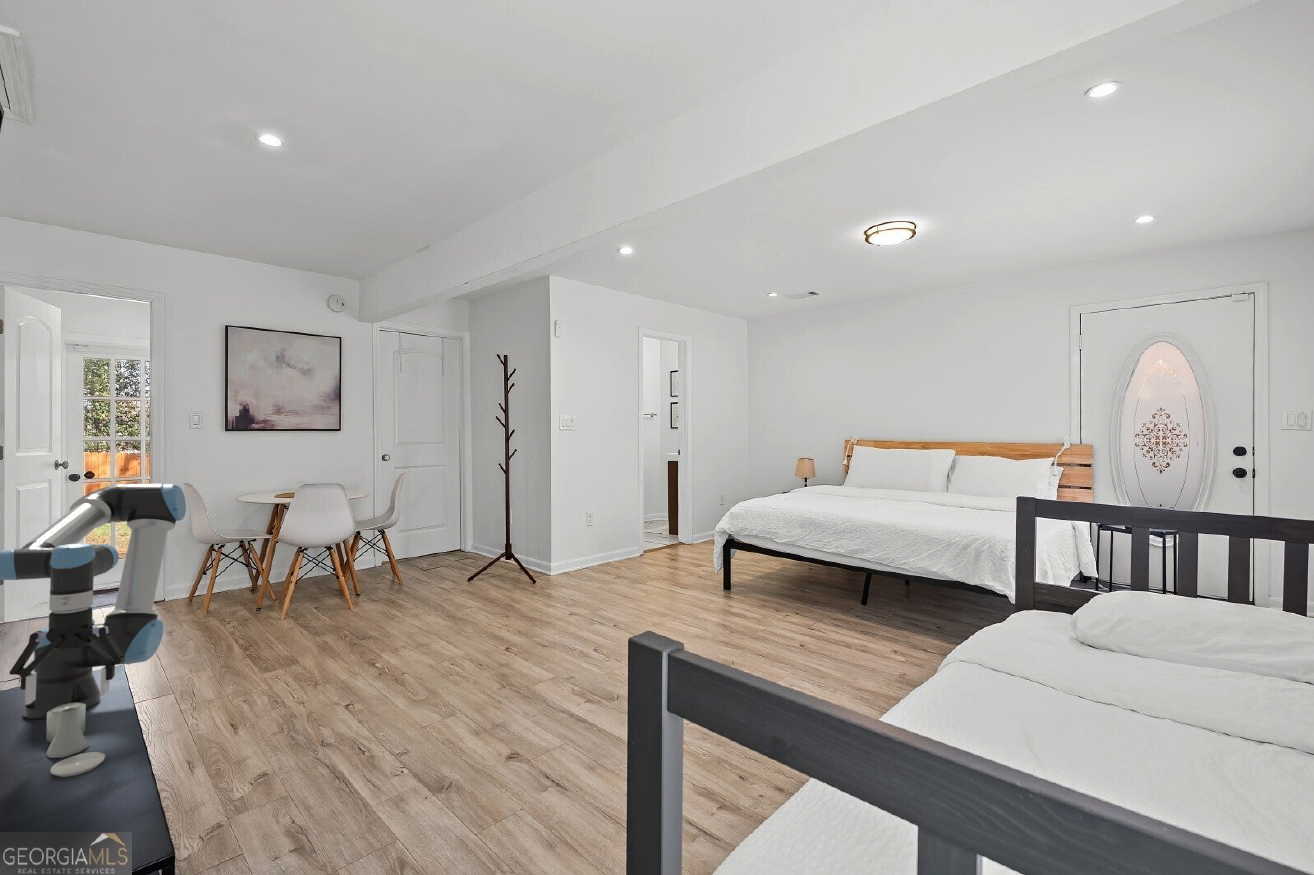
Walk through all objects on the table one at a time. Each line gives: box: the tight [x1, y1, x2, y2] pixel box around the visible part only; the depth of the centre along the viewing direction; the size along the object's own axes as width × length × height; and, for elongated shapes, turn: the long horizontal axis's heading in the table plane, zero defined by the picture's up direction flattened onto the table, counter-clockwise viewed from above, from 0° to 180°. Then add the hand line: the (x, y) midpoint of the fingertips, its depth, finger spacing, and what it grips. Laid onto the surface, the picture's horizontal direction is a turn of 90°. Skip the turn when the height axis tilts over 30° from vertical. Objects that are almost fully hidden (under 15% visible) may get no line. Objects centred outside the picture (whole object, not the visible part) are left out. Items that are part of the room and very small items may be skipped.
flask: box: [45, 707, 90, 759], centre depth 144 cm, size 7×7×10 cm
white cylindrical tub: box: [46, 703, 87, 743], centre depth 152 cm, size 7×7×7 cm
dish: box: [49, 751, 106, 778], centre depth 137 cm, size 9×9×1 cm
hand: (68, 697), depth 144 cm, fingers open, 13 cm apart
